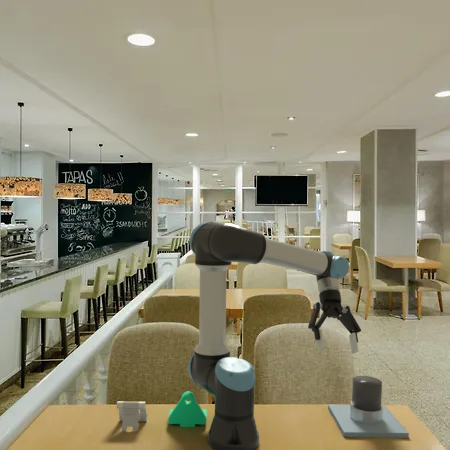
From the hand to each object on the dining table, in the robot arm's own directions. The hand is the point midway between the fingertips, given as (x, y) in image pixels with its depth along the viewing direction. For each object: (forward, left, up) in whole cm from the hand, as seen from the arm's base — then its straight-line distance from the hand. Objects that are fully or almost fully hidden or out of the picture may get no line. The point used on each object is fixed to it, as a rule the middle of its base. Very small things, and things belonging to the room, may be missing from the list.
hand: (338, 351), depth 156 cm
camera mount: (-31, -40, -22) cm, 55 cm away
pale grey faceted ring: (+10, +2, -20) cm, 23 cm away
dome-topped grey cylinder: (+9, +2, -20) cm, 22 cm away
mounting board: (+10, +2, -22) cm, 24 cm away
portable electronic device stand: (-41, -55, -22) cm, 72 cm away
